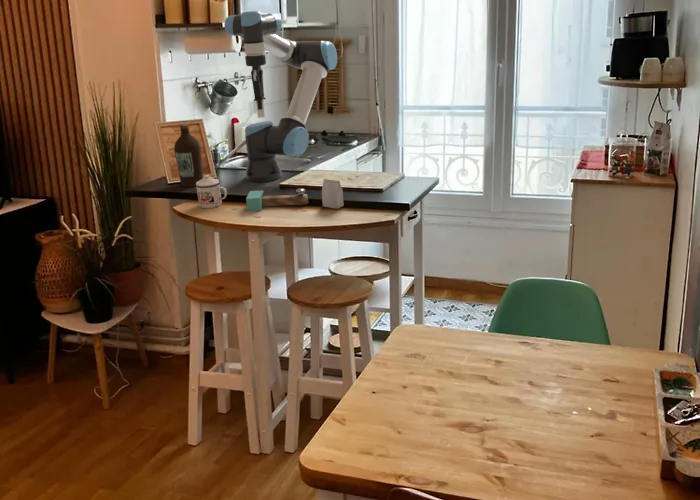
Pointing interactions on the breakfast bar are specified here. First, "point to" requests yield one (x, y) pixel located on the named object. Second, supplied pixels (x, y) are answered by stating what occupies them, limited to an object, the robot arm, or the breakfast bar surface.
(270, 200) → the walnut link
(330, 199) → the white paper bag
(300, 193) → the pintle
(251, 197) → the teal rectangular block
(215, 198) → the teacup with lid
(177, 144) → the olive oil
